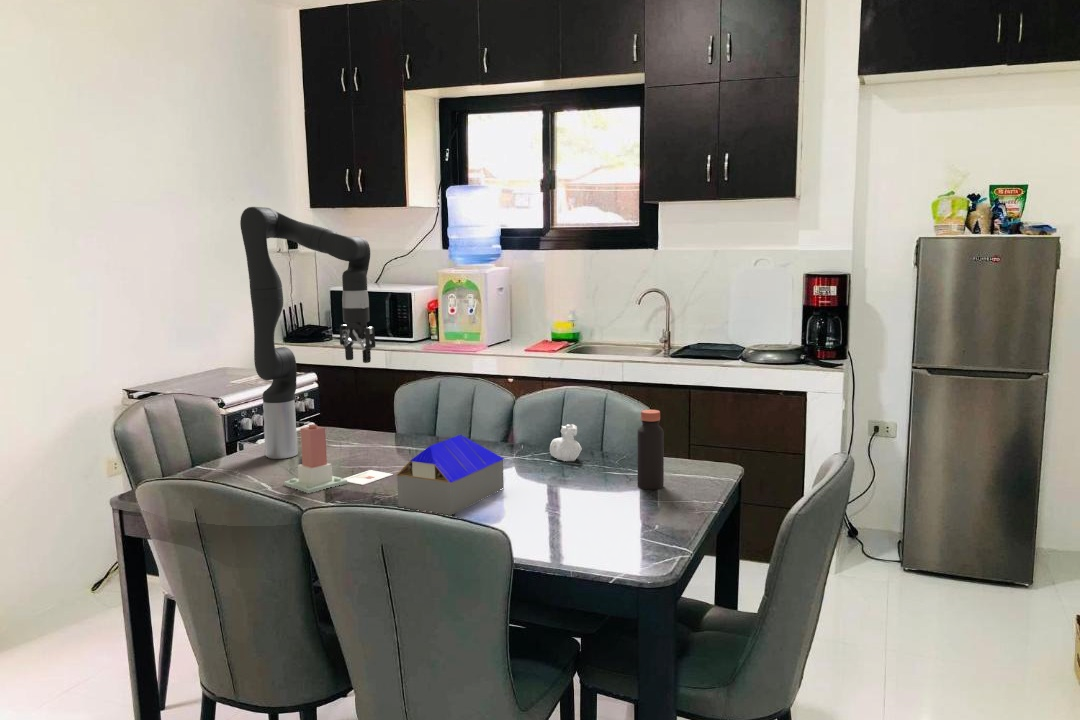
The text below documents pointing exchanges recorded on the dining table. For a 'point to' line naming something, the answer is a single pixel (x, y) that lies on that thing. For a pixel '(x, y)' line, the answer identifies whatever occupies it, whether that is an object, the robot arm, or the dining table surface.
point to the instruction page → (367, 477)
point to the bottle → (650, 451)
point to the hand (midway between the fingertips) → (358, 361)
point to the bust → (566, 444)
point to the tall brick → (313, 446)
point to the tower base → (314, 487)
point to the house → (449, 476)
